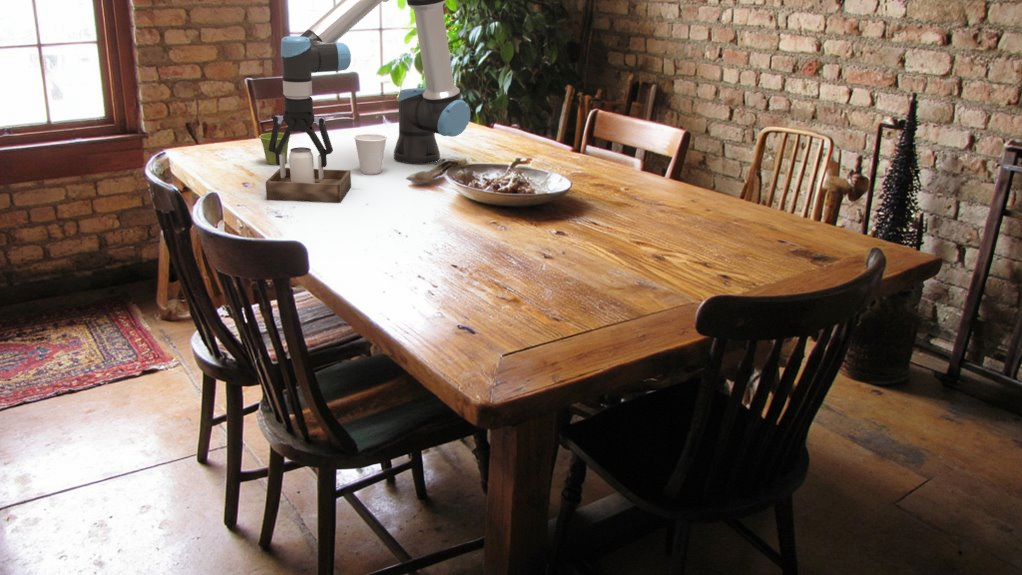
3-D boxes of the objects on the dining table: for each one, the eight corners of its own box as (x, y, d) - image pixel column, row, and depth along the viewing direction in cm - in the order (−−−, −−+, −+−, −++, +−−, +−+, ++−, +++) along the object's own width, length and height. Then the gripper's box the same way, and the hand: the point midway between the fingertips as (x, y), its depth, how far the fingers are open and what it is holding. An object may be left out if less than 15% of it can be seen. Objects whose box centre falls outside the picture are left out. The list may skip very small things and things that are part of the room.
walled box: (351, 187, 244) (350, 170, 242) (340, 202, 229) (339, 184, 227) (281, 184, 244) (280, 167, 242) (266, 199, 229) (265, 181, 227)
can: (309, 196, 233) (306, 153, 228) (287, 193, 234) (284, 151, 229) (318, 189, 239) (316, 148, 234) (297, 187, 240) (294, 146, 235)
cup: (390, 169, 265) (390, 134, 261) (383, 177, 256) (382, 141, 252) (359, 167, 266) (358, 132, 262) (351, 175, 257) (349, 139, 252)
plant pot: (287, 167, 263) (285, 139, 259) (257, 165, 263) (255, 138, 259) (295, 160, 271) (293, 133, 268) (266, 158, 271) (264, 132, 268)
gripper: (342, 96, 230) (345, 175, 238) (260, 92, 230) (265, 172, 238) (337, 100, 223) (340, 182, 231) (252, 97, 223) (258, 179, 231)
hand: (302, 177), depth 235 cm, fingers open, 10 cm apart
